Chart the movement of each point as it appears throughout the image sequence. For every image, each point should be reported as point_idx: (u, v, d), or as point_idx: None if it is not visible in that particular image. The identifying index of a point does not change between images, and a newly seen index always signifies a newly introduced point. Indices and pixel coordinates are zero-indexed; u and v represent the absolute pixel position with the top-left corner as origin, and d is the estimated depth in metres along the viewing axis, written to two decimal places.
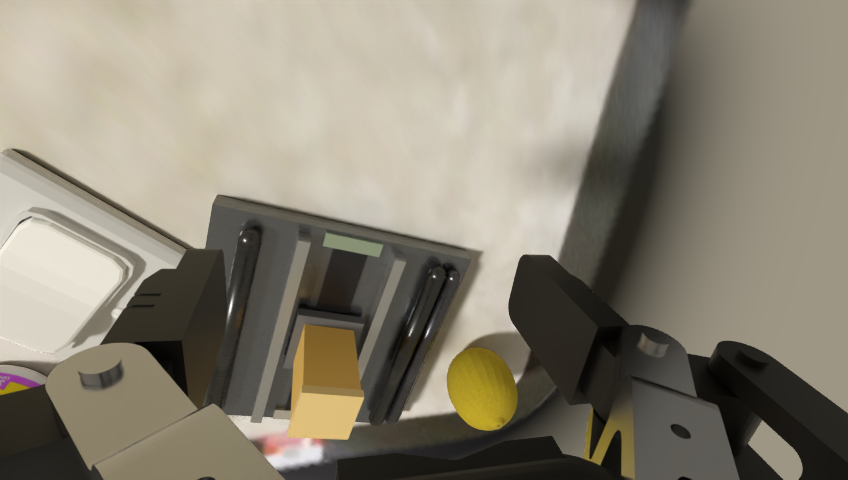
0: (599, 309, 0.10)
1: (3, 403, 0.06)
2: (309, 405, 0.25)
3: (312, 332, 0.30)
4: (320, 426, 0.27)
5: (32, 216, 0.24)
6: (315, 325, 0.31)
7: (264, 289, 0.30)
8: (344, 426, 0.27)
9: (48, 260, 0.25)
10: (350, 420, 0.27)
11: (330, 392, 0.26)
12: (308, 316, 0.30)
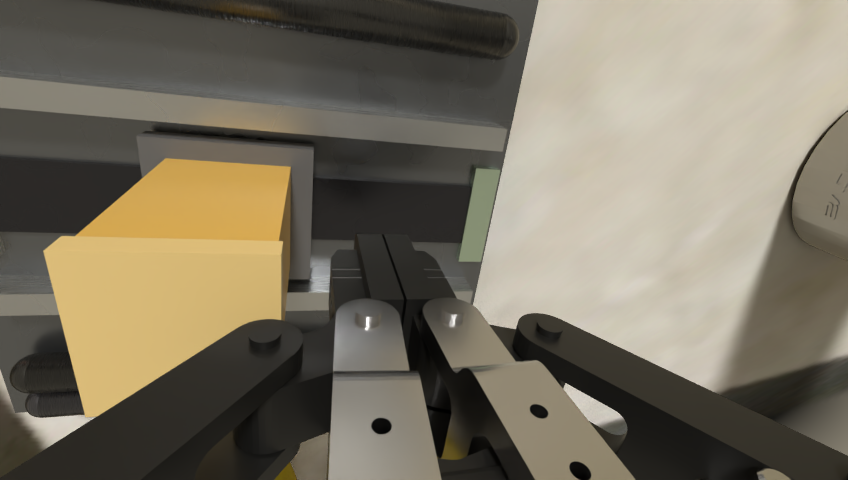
0: (421, 283, 0.10)
1: None
2: (227, 286, 0.08)
3: (289, 191, 0.13)
4: (130, 335, 0.08)
5: None
6: (291, 189, 0.14)
7: (365, 69, 0.14)
8: None
9: None
10: None
11: None
12: (312, 171, 0.14)
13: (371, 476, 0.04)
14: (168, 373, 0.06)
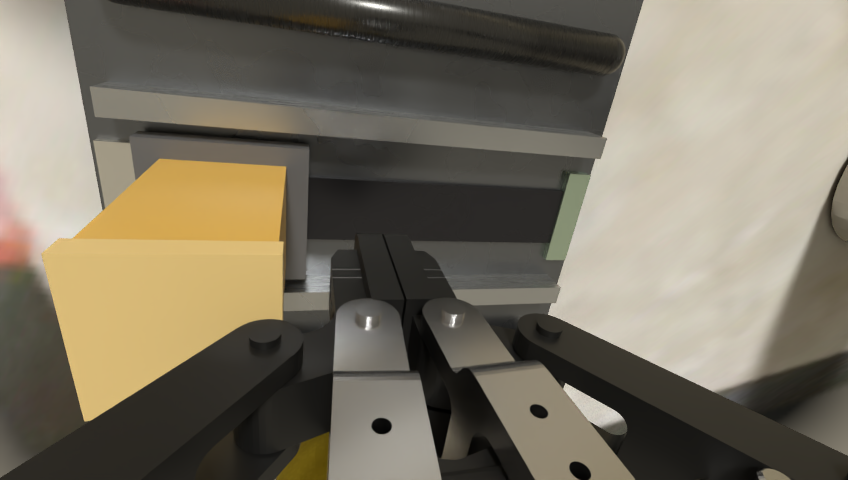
0: (421, 283, 0.10)
1: None
2: (228, 287, 0.08)
3: (285, 191, 0.13)
4: (130, 338, 0.08)
5: None
6: (286, 189, 0.14)
7: (482, 84, 0.15)
8: None
9: None
10: None
11: None
12: (307, 170, 0.14)
13: (371, 476, 0.04)
14: (168, 373, 0.06)
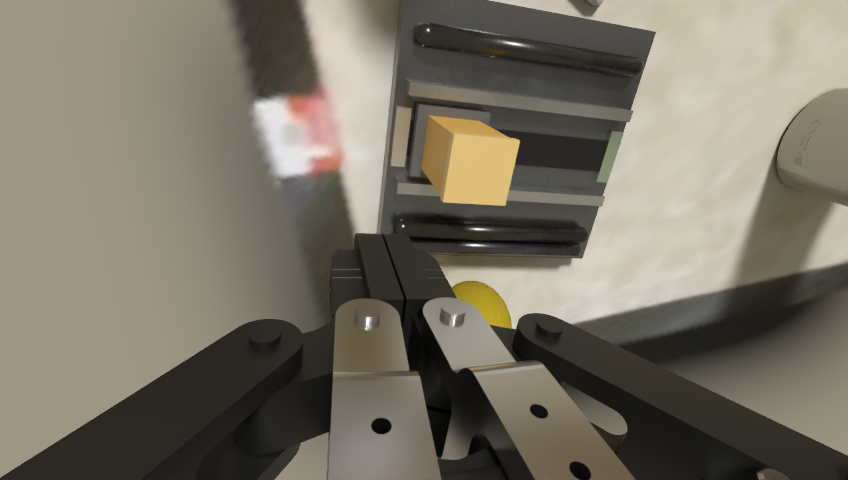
0: (421, 283, 0.10)
1: None
2: (500, 151, 0.23)
3: None
4: (466, 169, 0.23)
5: None
6: None
7: (569, 82, 0.30)
8: (464, 194, 0.24)
9: None
10: (473, 199, 0.24)
11: None
12: (488, 123, 0.29)
13: (371, 476, 0.04)
14: (168, 373, 0.06)
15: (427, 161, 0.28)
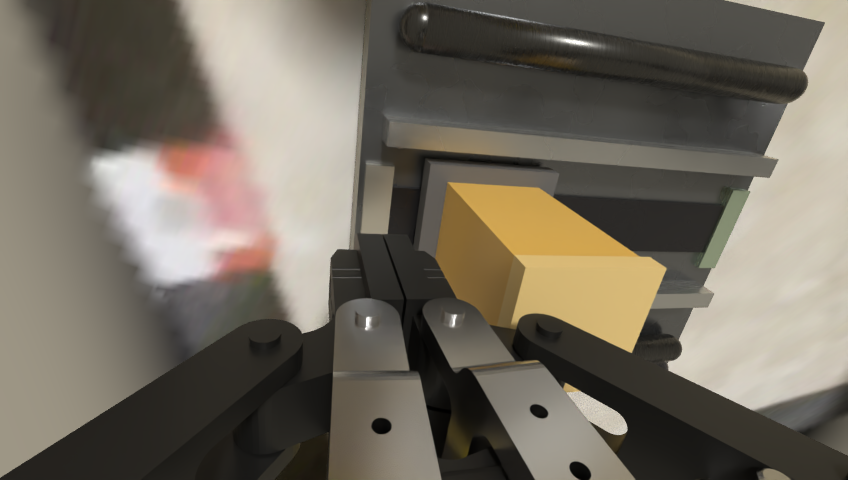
0: (421, 283, 0.10)
1: None
2: (623, 293, 0.10)
3: None
4: None
5: None
6: None
7: (674, 112, 0.17)
8: None
9: None
10: None
11: None
12: (553, 191, 0.16)
13: (371, 476, 0.04)
14: (168, 373, 0.06)
15: (447, 269, 0.15)
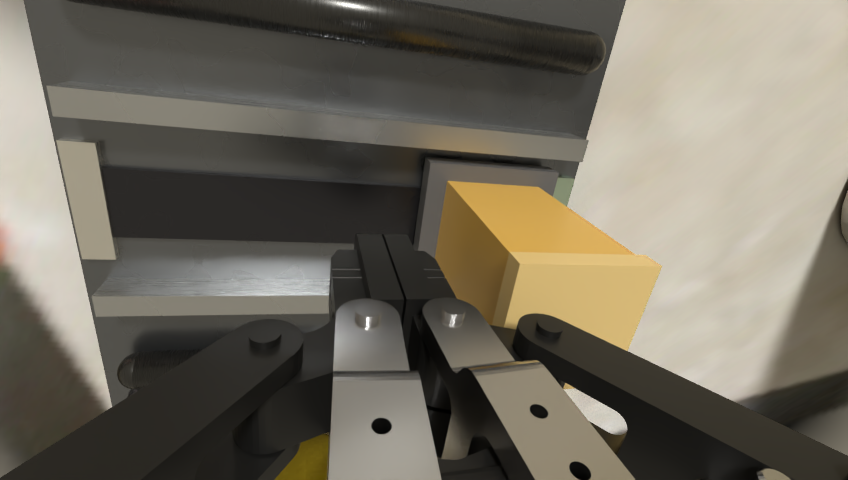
0: (421, 283, 0.10)
1: None
2: (618, 290, 0.10)
3: None
4: None
5: None
6: None
7: (457, 85, 0.15)
8: None
9: None
10: None
11: None
12: (553, 190, 0.16)
13: (371, 476, 0.04)
14: (168, 373, 0.06)
15: (446, 267, 0.15)
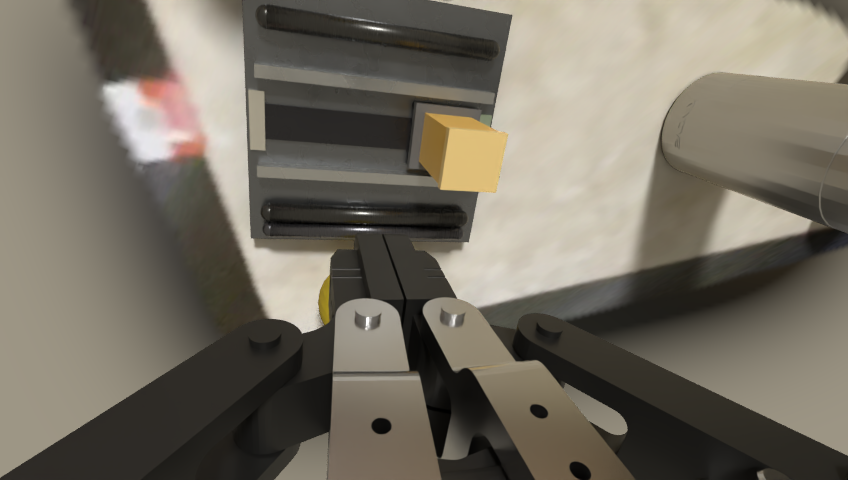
0: (421, 284, 0.10)
1: None
2: (491, 144, 0.26)
3: None
4: (461, 159, 0.26)
5: None
6: None
7: (429, 65, 0.31)
8: (459, 182, 0.27)
9: None
10: (467, 186, 0.27)
11: None
12: (479, 119, 0.32)
13: (371, 476, 0.04)
14: (168, 373, 0.06)
15: (425, 154, 0.31)
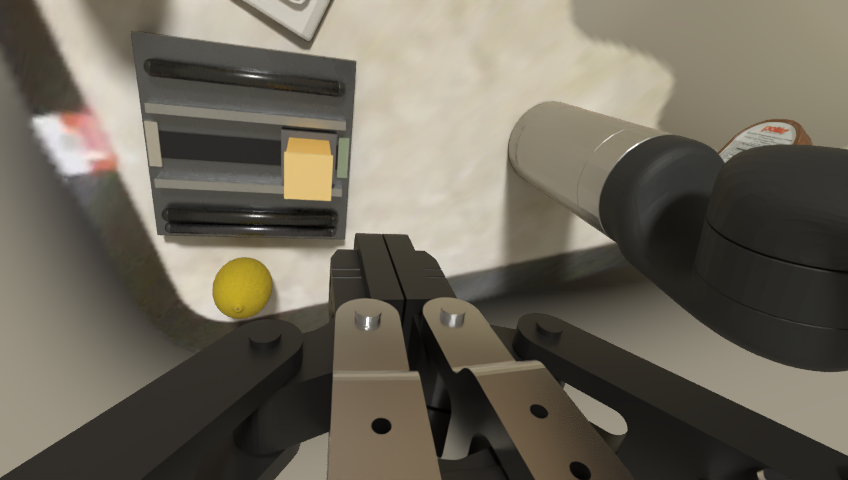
0: (421, 283, 0.10)
1: None
2: (320, 164, 0.35)
3: None
4: (297, 176, 0.35)
5: None
6: None
7: (291, 100, 0.39)
8: (299, 193, 0.35)
9: None
10: (306, 196, 0.36)
11: (331, 176, 0.36)
12: None
13: (371, 476, 0.04)
14: (168, 373, 0.06)
15: None
